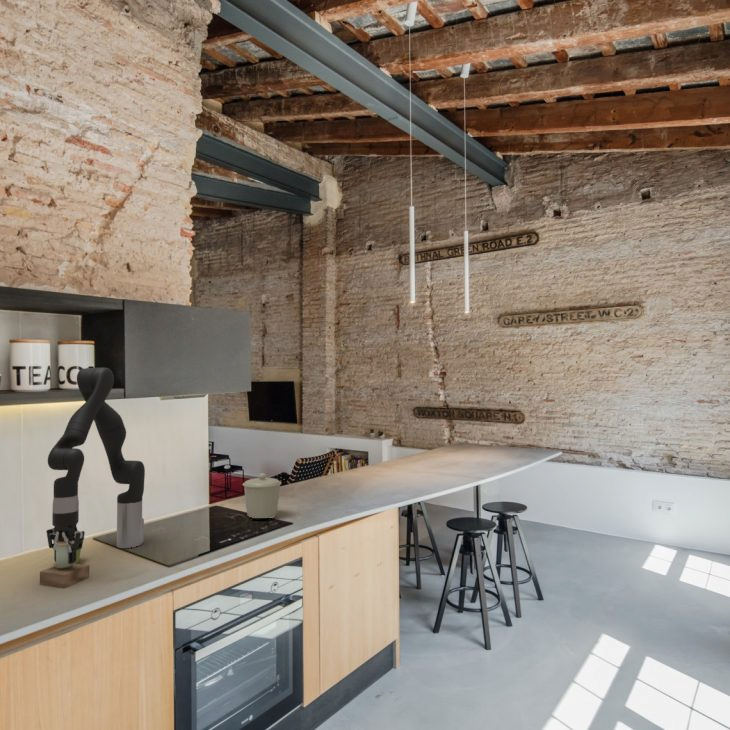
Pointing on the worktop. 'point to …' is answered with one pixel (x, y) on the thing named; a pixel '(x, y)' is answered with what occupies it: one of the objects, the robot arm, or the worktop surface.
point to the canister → (262, 496)
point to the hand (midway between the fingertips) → (65, 562)
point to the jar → (62, 554)
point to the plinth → (64, 575)
